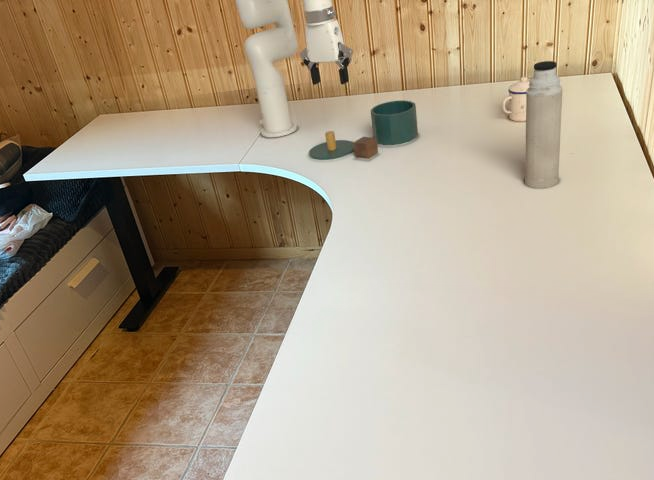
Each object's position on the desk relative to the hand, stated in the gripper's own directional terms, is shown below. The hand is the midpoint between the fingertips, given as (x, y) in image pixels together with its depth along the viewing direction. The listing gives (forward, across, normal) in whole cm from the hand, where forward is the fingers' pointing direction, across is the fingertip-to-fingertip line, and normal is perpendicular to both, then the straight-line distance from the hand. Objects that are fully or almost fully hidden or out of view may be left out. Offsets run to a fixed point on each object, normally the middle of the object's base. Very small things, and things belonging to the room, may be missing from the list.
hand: (330, 83), depth 187 cm
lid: (+21, +7, -5) cm, 23 cm away
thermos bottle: (+24, -61, +2) cm, 66 cm away
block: (+22, -6, -4) cm, 23 cm away
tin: (+22, -8, -19) cm, 30 cm away
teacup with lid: (+23, -38, -41) cm, 61 cm away
